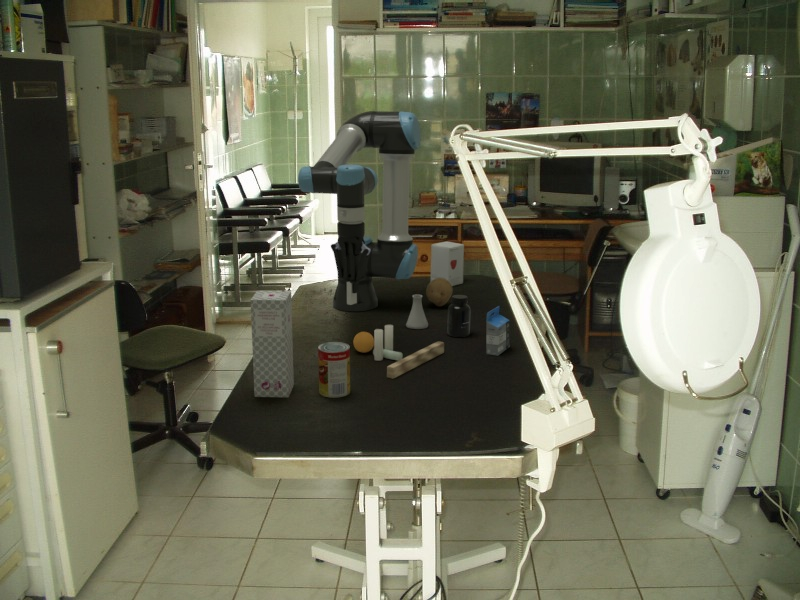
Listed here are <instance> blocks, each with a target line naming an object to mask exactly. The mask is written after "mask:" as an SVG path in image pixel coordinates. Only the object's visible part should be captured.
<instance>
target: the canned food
mask: <svg viewBox="0 0 800 600" xmlns="http://www.w3.org/2000/svg"><path fill="white" fill-rule="evenodd" d="M350 346H351V345H349V344H348V343H345V342H342V341H341V342H339V341H328V342H323V343H321V344H319V345H318V346H317V351H318V353H317V355H318V356H317V359H318V363H317V364H318V393H319V395H321V396H322V397H324V398H331V399H333V398H334V399H335V398H342V397H346V396H348V395H350V394H351V349H350Z"/></svg>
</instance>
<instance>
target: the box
mask: <svg viewBox="0 0 800 600" xmlns="http://www.w3.org/2000/svg"><path fill="white" fill-rule="evenodd" d="M292 310H293V308H292V291H291V290H282V291H281V290H256V292H255V293H254V294H253V296H252V297H251V298H250V319H251V320H250V323H251V343H252V366H253V367H252V368H253V371H252V372H253V391H254V397H255V398H289V397H290V395H291V393H292V390H293V388H294V385H295V382H294V381H295V380H294V379H295V378H294V377H295V375H294V351H293V350H294V349H293V347H294V346H293V313H292V312H293V311H292Z"/></svg>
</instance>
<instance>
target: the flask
mask: <svg viewBox="0 0 800 600" xmlns="http://www.w3.org/2000/svg"><path fill="white" fill-rule="evenodd" d="M411 296H412V306H411V310H410V312H409V316H408V317H407V318H408V319H407V321H406V324H405V327H406V328H407V329H412V330H413V329H414V330H421V329H423V330H424V329H427V328H428V327H429V323H428V320H427V316H426V314H425V311H424V308H423V304H422V299H423V297H424V296H423V295H422V294H412V295H411Z"/></svg>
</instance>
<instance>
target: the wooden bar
mask: <svg viewBox="0 0 800 600" xmlns="http://www.w3.org/2000/svg"><path fill="white" fill-rule="evenodd" d="M444 353H445V342H443V341H440V340H438V341H435V342H433V343H432V344H430V345H428V346H426V347H424V348H422V349H419V350H417V351H415V352H414V353H412V354H409V355H407V356H406V357H403V358H402V359H401V360H399V361H397V360H396V361H395V362H394V363H391V364H389V365H388V366H386V378H389V379H392V380H393V379H396V378H397V377H400V376H401V375H404V374H405V373H407V372H409V371H411V370H412V369H413V370H414V369H416V368H417V367H419V366H421V365H422V364H424V363H427V362H428V361H430V360H432V359H434V358H436V357H439V356H440V355H442V354H444Z"/></svg>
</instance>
